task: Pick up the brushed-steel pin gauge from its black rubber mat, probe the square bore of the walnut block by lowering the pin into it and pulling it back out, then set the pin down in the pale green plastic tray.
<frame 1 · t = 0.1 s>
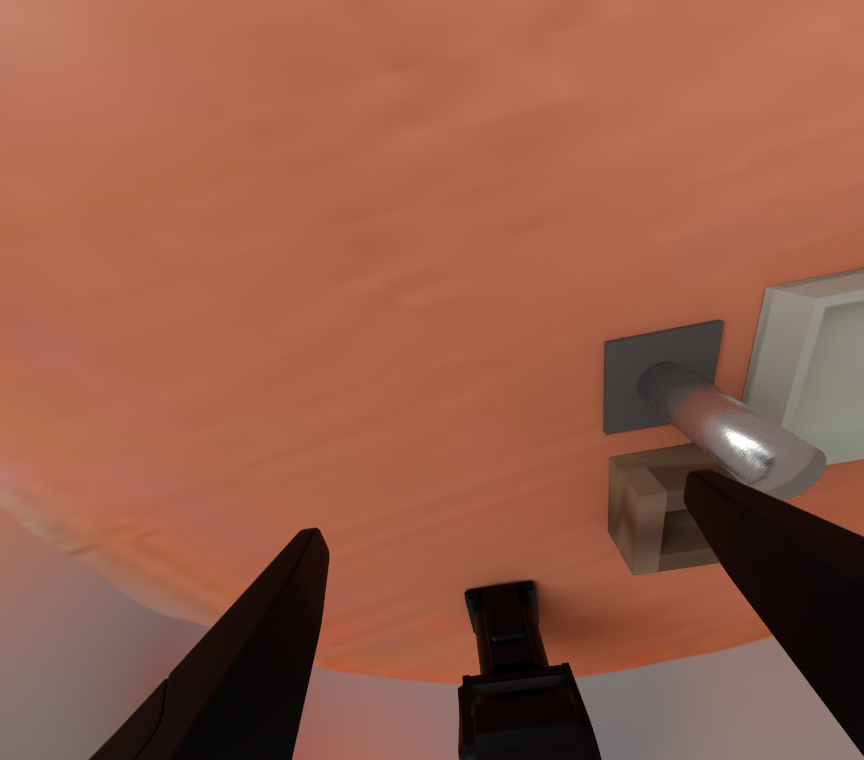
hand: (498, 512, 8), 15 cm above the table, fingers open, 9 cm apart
block: (659, 488, 28), on the table
pin: (660, 382, 23), resting on mat
mat: (656, 379, 23), on the table
tray: (841, 359, 23), on the table
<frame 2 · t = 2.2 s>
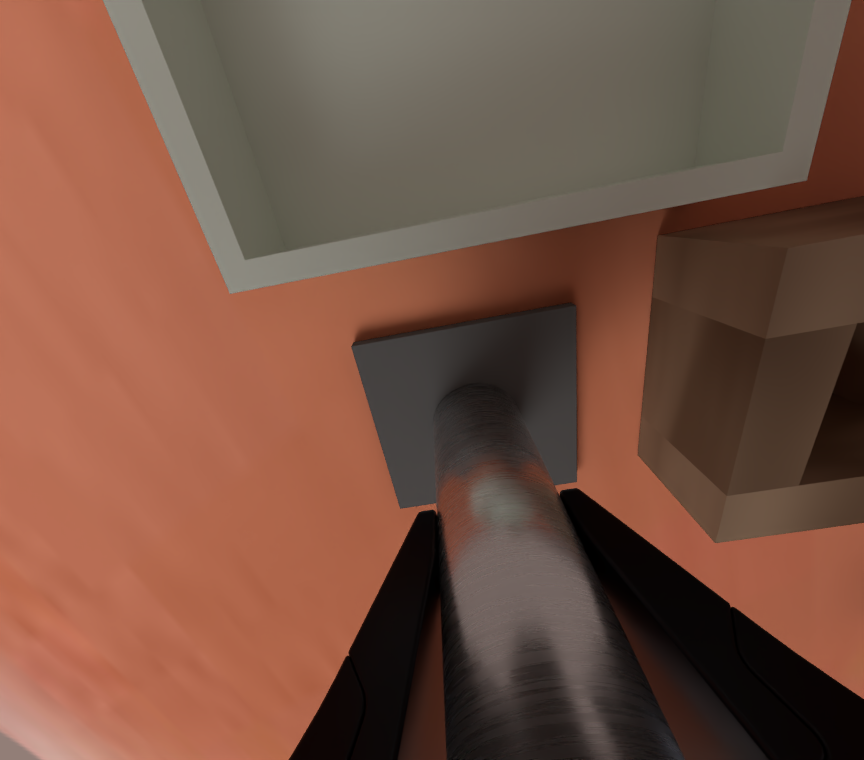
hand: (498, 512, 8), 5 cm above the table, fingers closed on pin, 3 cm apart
block: (769, 340, 12), on the table
pin: (475, 421, 12), resting on mat, touching gripper
mat: (474, 415, 13), on the table
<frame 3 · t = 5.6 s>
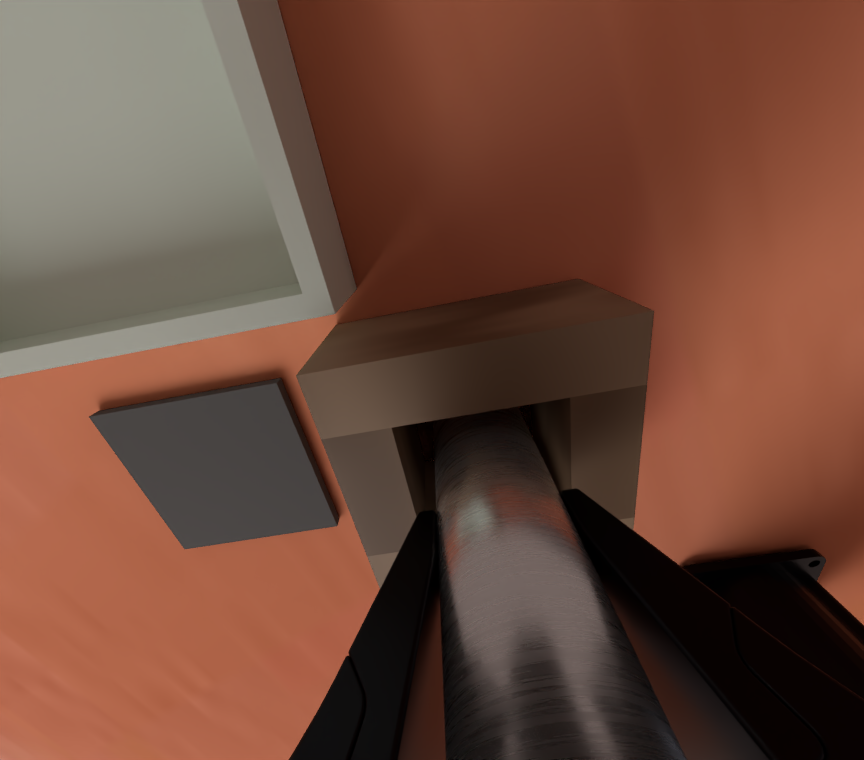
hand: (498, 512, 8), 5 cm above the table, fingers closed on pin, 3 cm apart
block: (471, 406, 13), on the table
pin: (475, 420, 12), point 1 cm above the table, touching gripper
mat: (229, 469, 14), on the table
tray: (63, 98, 9), on the table
when the fingers open (6 cm above the table, at t = 9.2 s): pin drops 1 cm, resting on tray.
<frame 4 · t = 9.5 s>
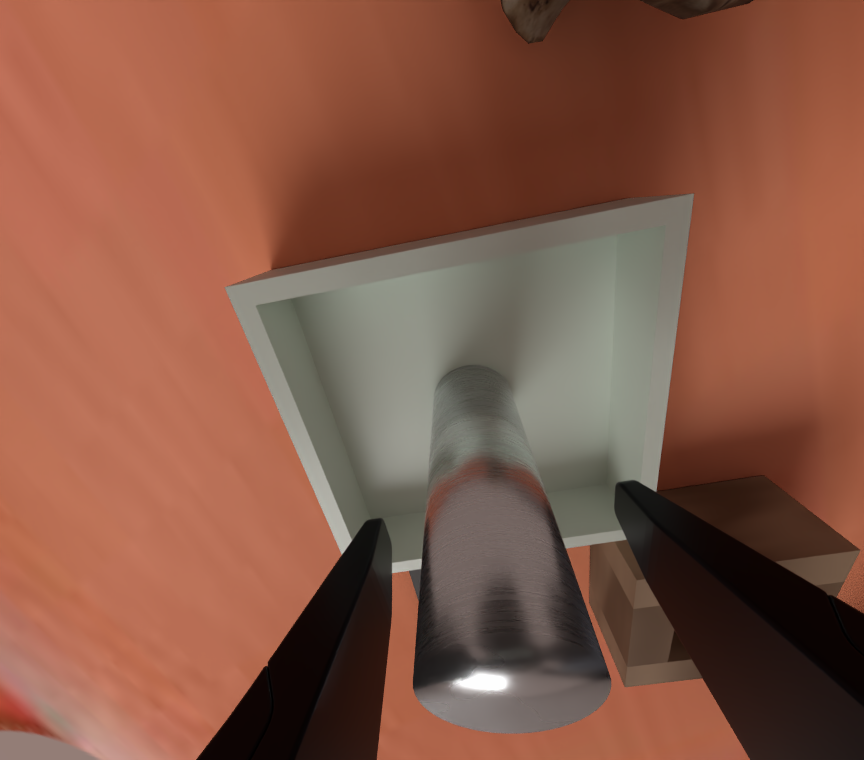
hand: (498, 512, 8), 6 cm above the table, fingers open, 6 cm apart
block: (667, 545, 18), on the table
pin: (472, 400, 13), point 1 cm above the table, touching tray
tray: (468, 393, 14), on the table
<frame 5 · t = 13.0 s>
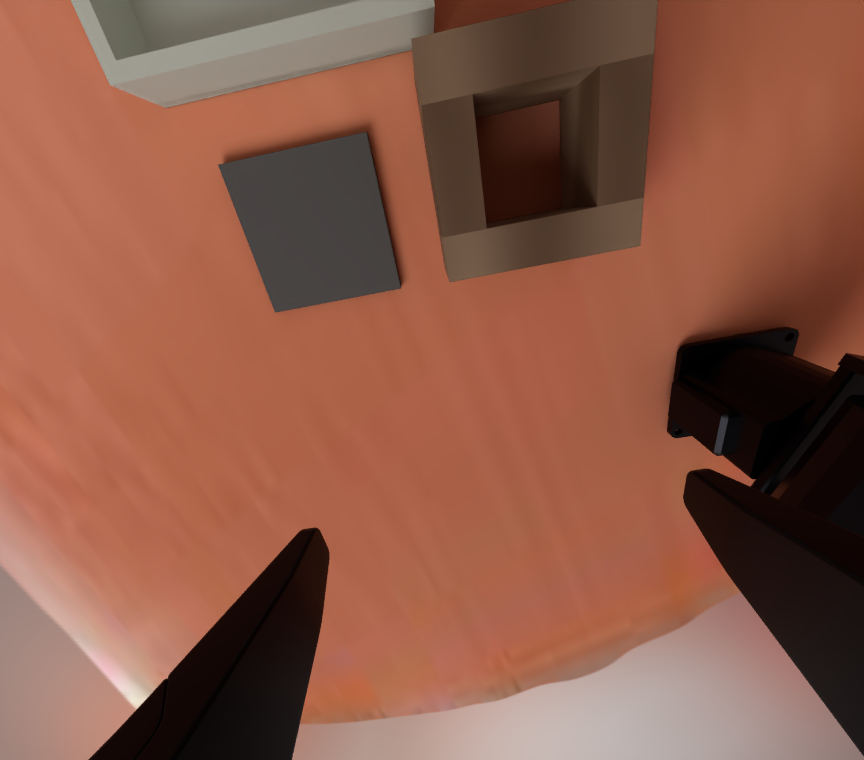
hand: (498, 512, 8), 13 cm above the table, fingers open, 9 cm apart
block: (514, 166, 17), on the table
mat: (318, 230, 18), on the table
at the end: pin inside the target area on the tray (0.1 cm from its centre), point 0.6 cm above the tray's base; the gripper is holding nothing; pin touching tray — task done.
